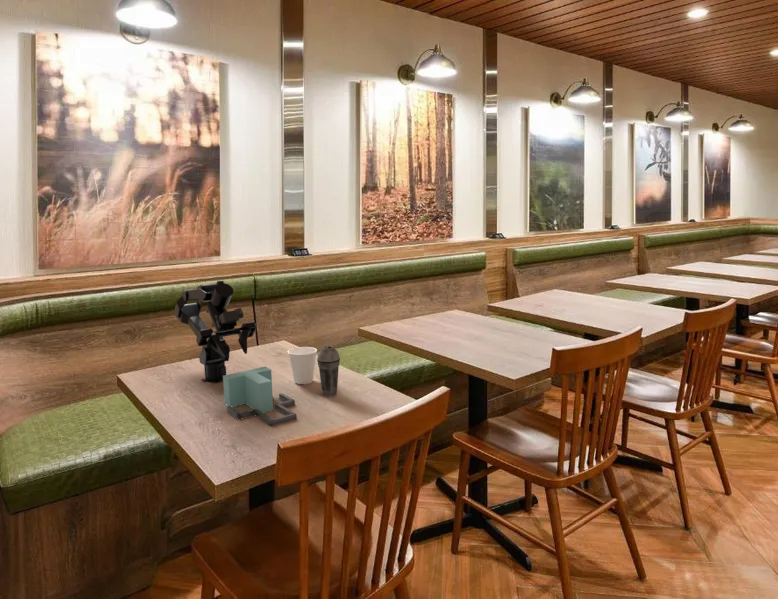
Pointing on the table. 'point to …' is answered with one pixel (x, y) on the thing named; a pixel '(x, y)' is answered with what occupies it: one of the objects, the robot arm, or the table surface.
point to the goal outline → (279, 406)
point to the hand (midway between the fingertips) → (236, 355)
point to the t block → (249, 389)
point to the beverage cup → (328, 370)
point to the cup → (302, 364)
